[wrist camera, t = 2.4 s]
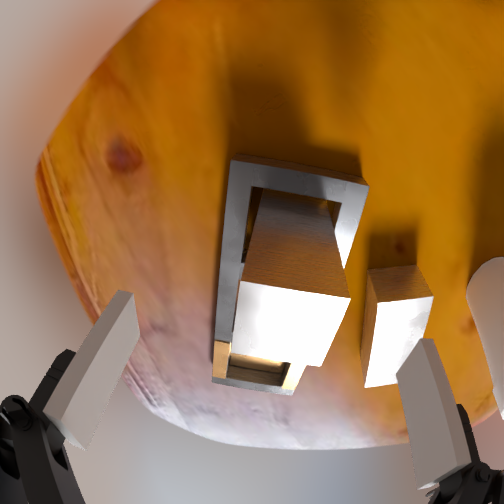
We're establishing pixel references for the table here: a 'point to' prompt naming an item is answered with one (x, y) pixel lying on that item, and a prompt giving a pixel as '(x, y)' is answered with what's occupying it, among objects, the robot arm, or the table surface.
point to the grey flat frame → (234, 253)
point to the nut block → (392, 321)
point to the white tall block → (290, 282)
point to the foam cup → (490, 319)
